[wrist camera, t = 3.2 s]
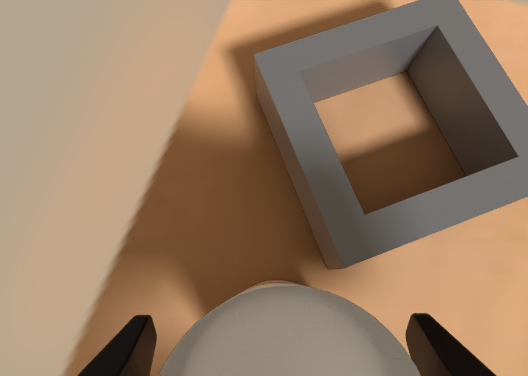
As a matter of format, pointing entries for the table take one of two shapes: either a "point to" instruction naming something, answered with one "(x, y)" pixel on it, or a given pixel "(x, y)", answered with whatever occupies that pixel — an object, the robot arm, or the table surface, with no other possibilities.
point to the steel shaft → (288, 337)
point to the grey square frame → (435, 97)
